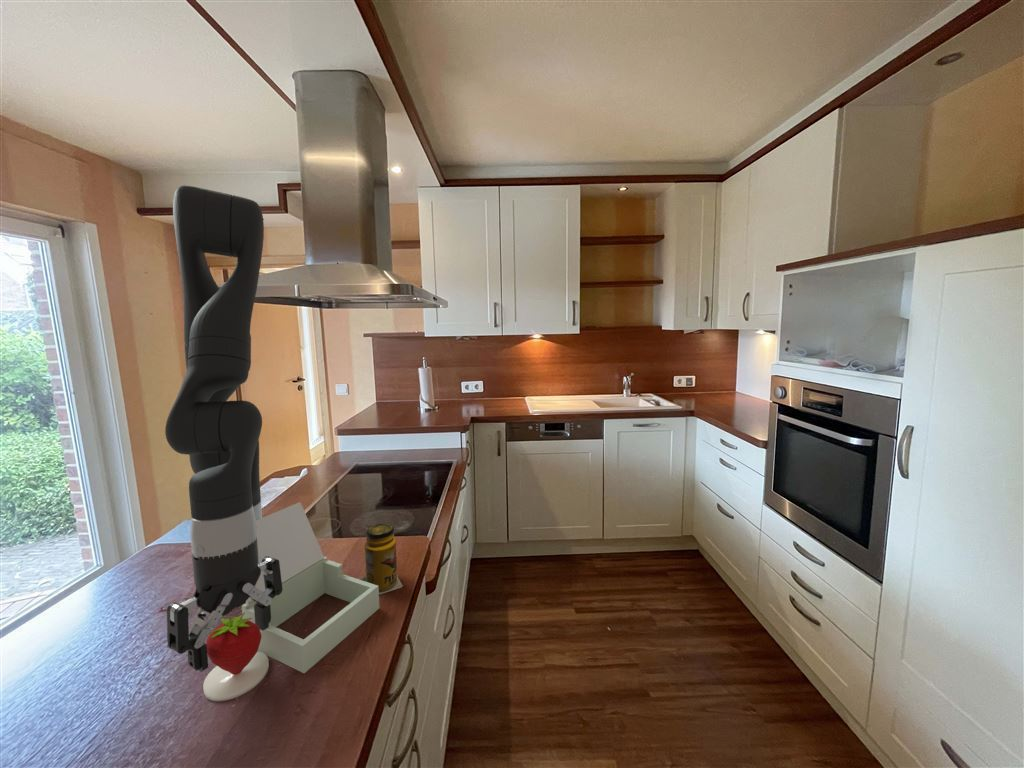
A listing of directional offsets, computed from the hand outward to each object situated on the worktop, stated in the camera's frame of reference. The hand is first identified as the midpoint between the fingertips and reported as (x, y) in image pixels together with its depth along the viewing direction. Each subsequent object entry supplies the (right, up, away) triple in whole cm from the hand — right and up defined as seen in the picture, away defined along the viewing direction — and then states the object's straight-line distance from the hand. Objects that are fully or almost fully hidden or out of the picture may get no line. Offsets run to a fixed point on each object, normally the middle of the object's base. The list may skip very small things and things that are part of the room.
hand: (233, 646), depth 58 cm
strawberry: (0, -5, +1) cm, 5 cm away
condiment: (+13, -3, +24) cm, 27 cm away
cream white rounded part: (0, -5, +1) cm, 6 cm away
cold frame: (+3, -4, +13) cm, 14 cm away
